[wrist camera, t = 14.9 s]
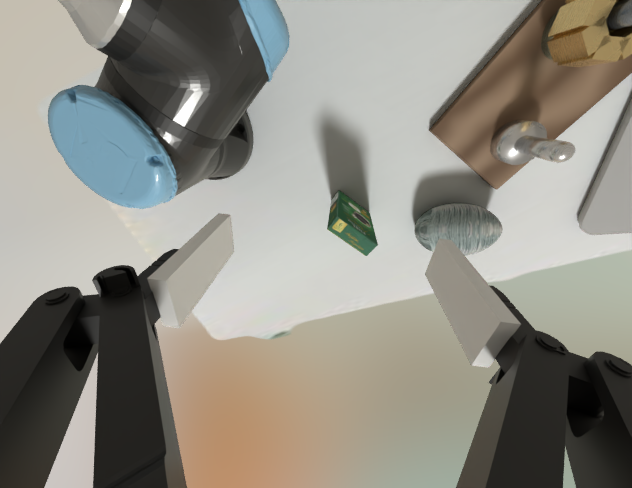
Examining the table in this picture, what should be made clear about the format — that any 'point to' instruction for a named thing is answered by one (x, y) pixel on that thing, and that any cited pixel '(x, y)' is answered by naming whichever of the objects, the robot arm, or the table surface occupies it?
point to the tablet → (612, 187)
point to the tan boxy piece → (587, 35)
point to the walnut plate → (522, 96)
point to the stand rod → (527, 144)
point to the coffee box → (351, 223)
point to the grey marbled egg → (458, 227)
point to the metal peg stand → (619, 17)
